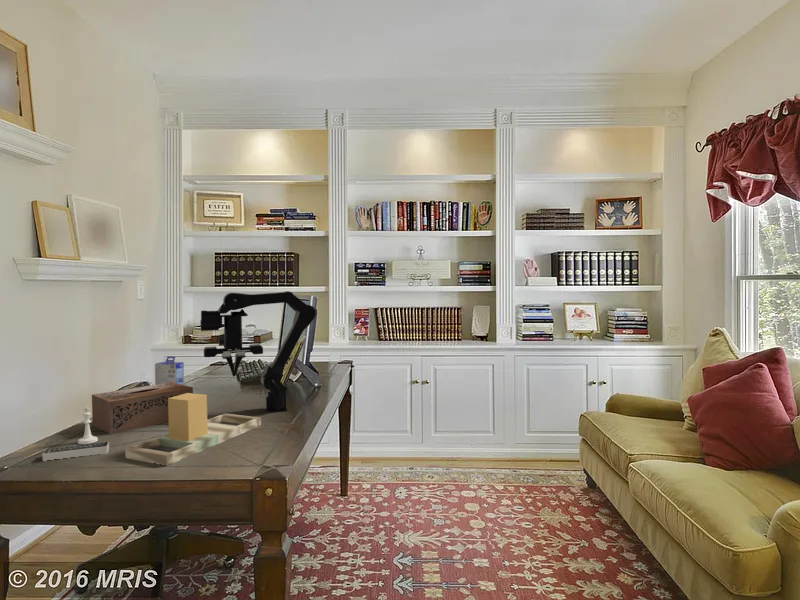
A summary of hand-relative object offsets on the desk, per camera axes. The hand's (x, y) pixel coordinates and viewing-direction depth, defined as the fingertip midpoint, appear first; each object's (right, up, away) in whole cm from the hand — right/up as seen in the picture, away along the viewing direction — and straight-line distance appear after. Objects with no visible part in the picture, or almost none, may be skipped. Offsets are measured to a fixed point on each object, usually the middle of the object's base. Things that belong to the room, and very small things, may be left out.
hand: (234, 376), depth 176 cm
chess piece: (-33, -15, -28) cm, 45 cm away
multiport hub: (-29, -16, -39) cm, 51 cm away
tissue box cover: (-27, -14, -7) cm, 31 cm away
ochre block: (-2, -12, -32) cm, 34 cm away
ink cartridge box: (-37, -12, +34) cm, 51 cm away
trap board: (-1, -14, -28) cm, 31 cm away
